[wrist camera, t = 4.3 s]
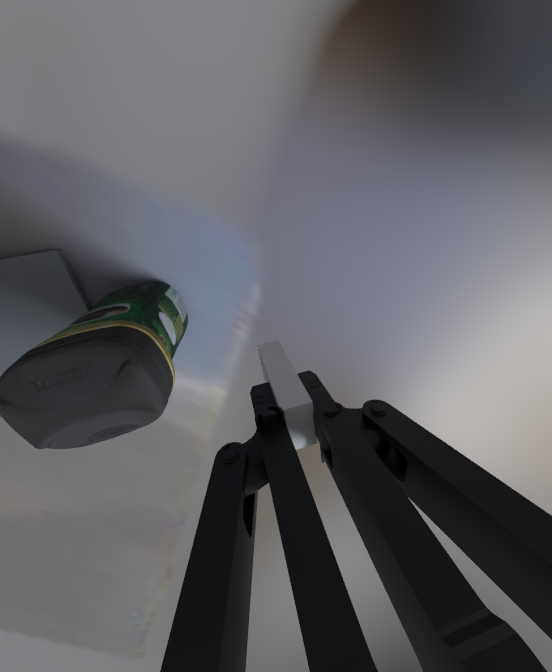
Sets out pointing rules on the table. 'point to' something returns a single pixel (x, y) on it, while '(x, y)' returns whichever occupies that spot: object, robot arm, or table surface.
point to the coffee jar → (98, 371)
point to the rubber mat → (35, 302)
